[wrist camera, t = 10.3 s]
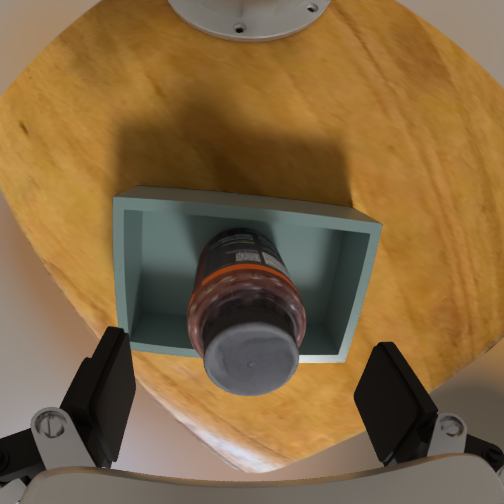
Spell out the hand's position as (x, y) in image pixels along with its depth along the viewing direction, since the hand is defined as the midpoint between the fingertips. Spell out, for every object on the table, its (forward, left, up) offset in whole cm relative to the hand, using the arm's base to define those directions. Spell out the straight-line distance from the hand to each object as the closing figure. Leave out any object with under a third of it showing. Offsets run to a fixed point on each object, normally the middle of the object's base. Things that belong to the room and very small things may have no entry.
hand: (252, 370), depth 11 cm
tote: (+1, 0, -13) cm, 13 cm away
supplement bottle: (+1, 0, -13) cm, 13 cm away
